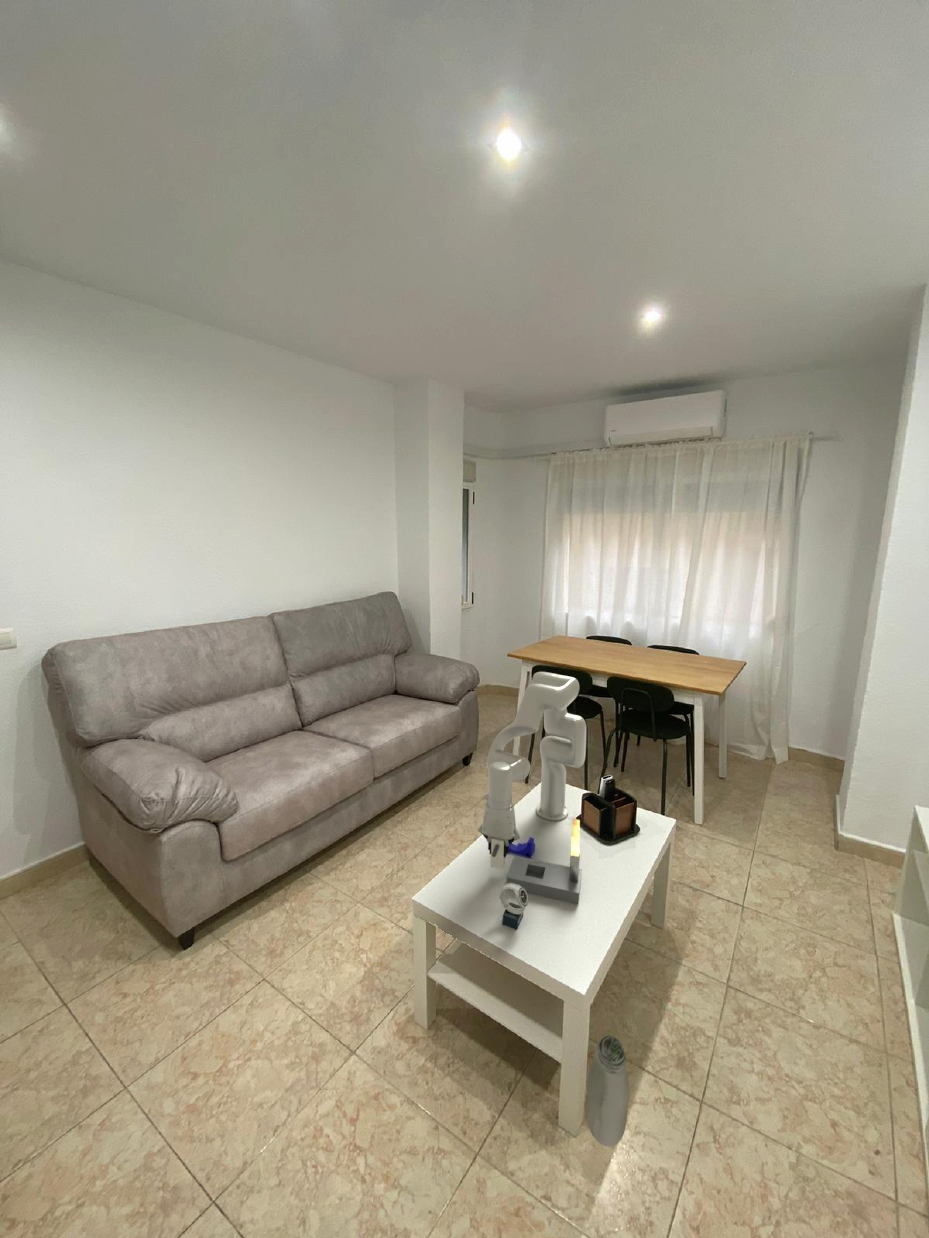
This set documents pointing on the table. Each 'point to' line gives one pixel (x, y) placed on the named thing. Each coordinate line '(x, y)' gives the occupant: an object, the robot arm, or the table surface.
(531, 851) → the blue cradle stand
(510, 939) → the table surface
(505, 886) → the watch
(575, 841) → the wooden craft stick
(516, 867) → the socket block
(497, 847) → the white upright block
